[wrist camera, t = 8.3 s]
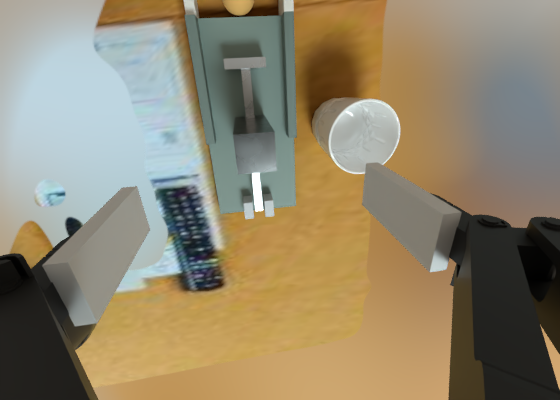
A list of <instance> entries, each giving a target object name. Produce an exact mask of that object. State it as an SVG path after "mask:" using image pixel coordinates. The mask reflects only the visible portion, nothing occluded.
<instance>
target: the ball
mask: <svg viewBox="0 0 560 400" xmlns="http://www.w3.org/2000/svg"><path fill="white" fill-rule="evenodd" d="M222 1H223V4H224V6H225V7H226V9H227V10H228V11H229V12H230V13H232V14H234V15H237V16H242V15H245V14H247V13H248V12H249V11H250V10H251V9H252V7H253V4H254V0H222Z"/></svg>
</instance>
